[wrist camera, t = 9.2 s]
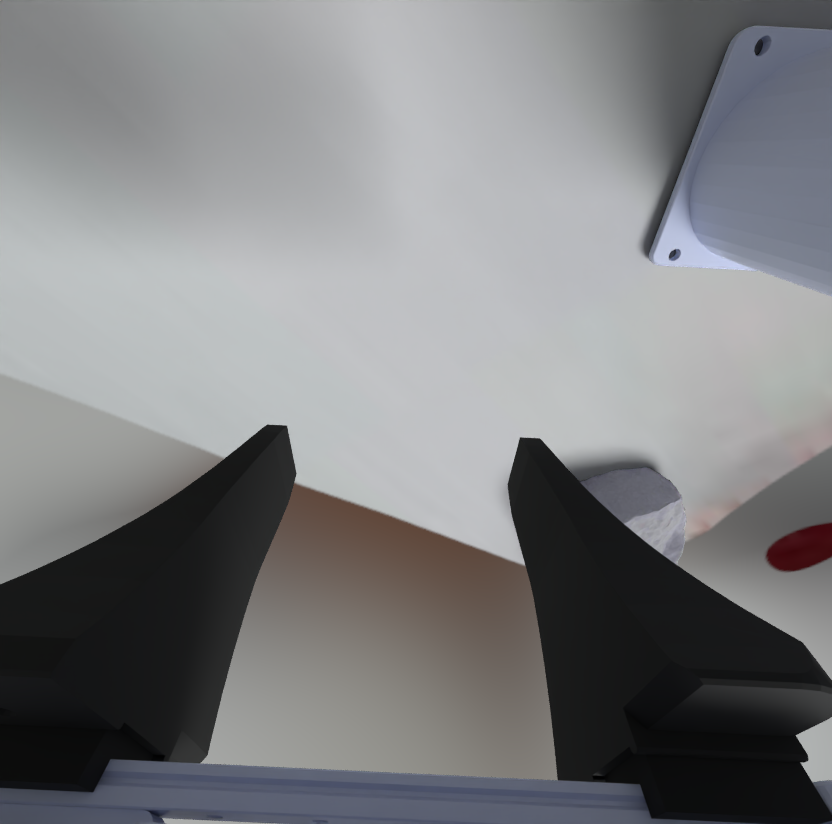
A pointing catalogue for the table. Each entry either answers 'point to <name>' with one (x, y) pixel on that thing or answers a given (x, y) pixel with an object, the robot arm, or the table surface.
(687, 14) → the table surface
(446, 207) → the table surface
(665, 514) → the stone block
